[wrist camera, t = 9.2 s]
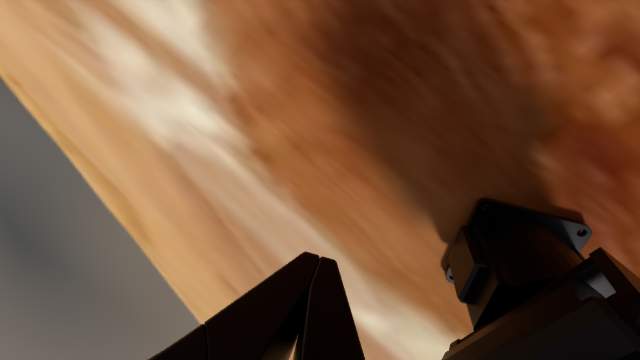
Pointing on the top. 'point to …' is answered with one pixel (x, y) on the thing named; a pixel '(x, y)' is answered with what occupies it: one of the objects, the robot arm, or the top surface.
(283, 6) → the top surface
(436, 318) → the top surface
